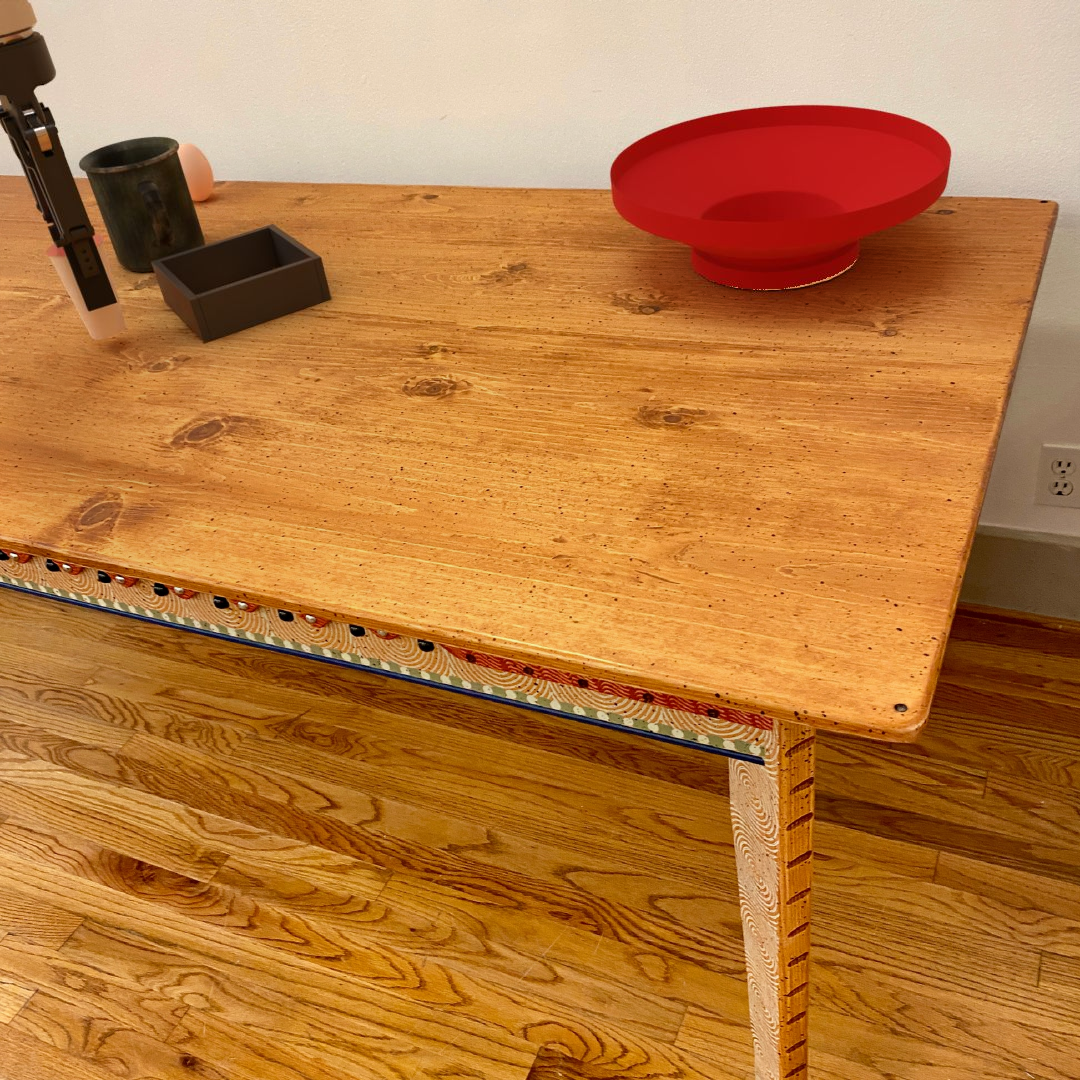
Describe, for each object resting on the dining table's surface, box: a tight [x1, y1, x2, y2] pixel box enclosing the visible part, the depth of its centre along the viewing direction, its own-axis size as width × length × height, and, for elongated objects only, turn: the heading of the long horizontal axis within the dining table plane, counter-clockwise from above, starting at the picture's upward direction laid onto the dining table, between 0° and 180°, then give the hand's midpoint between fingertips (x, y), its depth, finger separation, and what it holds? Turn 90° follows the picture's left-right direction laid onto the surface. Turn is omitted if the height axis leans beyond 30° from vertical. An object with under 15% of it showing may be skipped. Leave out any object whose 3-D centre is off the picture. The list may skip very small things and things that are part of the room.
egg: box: [177, 142, 215, 202], centre depth 140 cm, size 5×5×7 cm
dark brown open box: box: [151, 223, 332, 344], centre depth 111 cm, size 14×14×4 cm
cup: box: [45, 233, 127, 341], centre depth 103 cm, size 5×5×12 cm
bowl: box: [609, 104, 952, 291], centre depth 103 cm, size 30×30×10 cm
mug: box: [78, 136, 206, 272], centre depth 122 cm, size 11×15×12 cm
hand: (94, 296), depth 105 cm, fingers closed on cup, 5 cm apart
